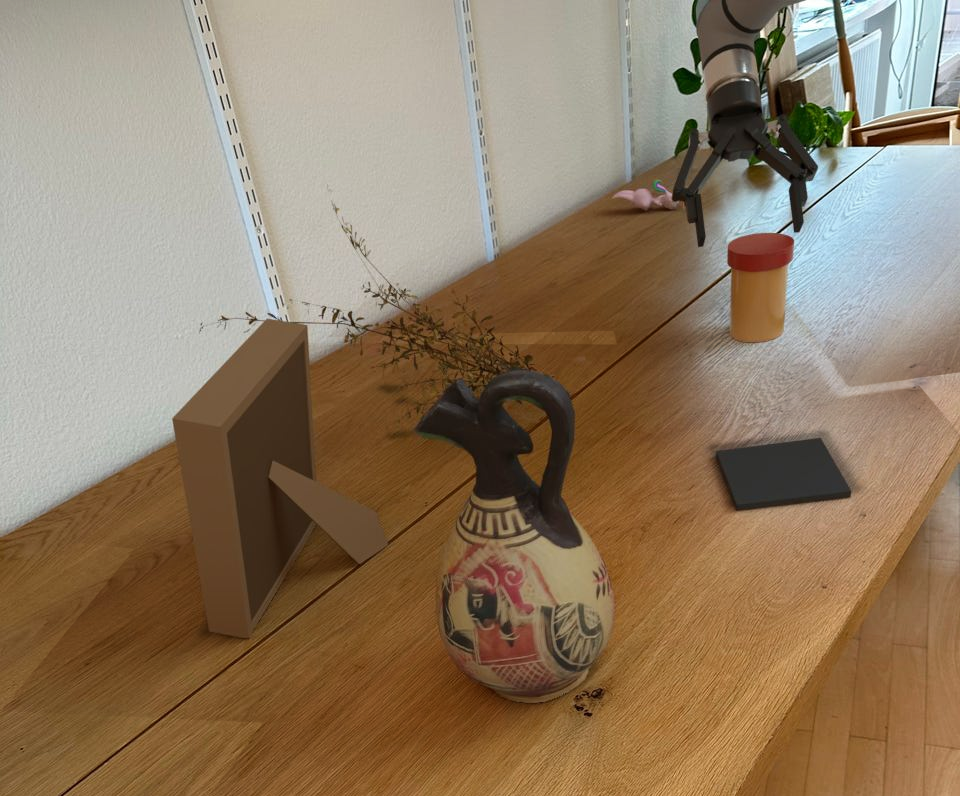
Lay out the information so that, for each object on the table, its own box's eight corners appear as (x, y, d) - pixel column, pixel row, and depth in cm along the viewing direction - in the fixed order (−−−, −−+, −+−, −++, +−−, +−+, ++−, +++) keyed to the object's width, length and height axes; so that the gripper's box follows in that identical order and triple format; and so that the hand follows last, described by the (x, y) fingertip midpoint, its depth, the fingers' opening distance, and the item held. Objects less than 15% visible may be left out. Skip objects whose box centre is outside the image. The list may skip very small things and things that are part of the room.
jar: (776, 318, 134) (782, 234, 126) (789, 338, 128) (795, 251, 120) (725, 325, 135) (726, 242, 127) (735, 345, 129) (737, 259, 121)
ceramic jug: (425, 719, 80) (341, 411, 61) (486, 611, 91) (431, 319, 72) (610, 752, 74) (581, 420, 55) (654, 632, 84) (642, 319, 65)
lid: (784, 245, 128) (785, 228, 126) (800, 265, 121) (801, 248, 120) (721, 254, 129) (722, 238, 127) (734, 275, 122) (734, 258, 120)
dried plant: (628, 254, 113) (302, 120, 115) (557, 386, 93) (166, 221, 95) (558, 439, 136) (289, 325, 138) (490, 574, 117) (179, 439, 119)
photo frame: (212, 638, 94) (114, 421, 78) (286, 522, 110) (217, 322, 94) (344, 641, 91) (269, 413, 75) (401, 520, 106) (349, 311, 90)
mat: (820, 443, 105) (820, 437, 105) (850, 497, 96) (851, 491, 96) (716, 456, 107) (716, 450, 106) (736, 510, 97) (736, 504, 97)
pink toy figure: (686, 209, 184) (614, 201, 187) (691, 178, 180) (617, 170, 183) (681, 219, 179) (607, 211, 183) (686, 187, 175) (611, 179, 179)
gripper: (814, 98, 133) (832, 235, 131) (644, 126, 136) (659, 260, 134) (828, 62, 125) (847, 206, 124) (647, 92, 128) (664, 234, 126)
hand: (750, 235), depth 129 cm, fingers open, 13 cm apart
